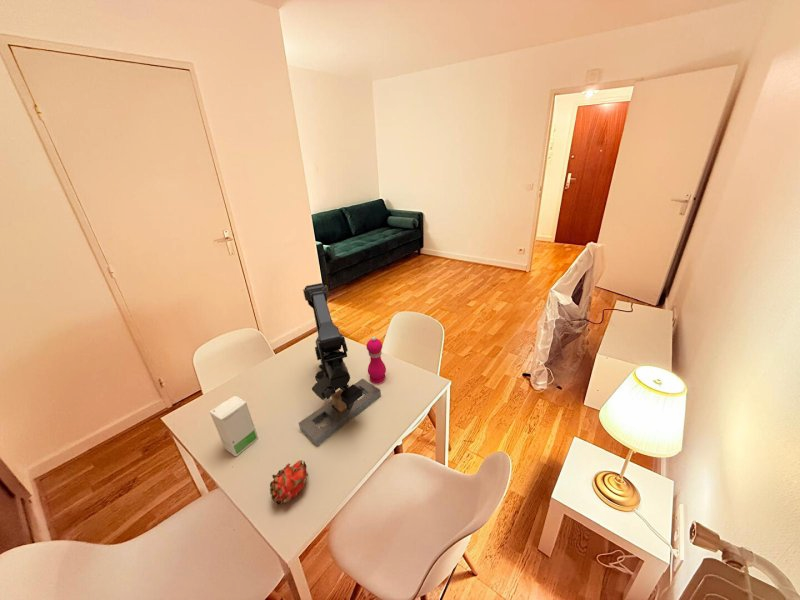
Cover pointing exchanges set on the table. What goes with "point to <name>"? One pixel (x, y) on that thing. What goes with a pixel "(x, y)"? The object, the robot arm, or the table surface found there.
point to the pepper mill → (376, 361)
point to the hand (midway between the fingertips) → (341, 403)
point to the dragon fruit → (288, 482)
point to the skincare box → (234, 425)
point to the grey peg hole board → (337, 414)
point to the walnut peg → (338, 402)
